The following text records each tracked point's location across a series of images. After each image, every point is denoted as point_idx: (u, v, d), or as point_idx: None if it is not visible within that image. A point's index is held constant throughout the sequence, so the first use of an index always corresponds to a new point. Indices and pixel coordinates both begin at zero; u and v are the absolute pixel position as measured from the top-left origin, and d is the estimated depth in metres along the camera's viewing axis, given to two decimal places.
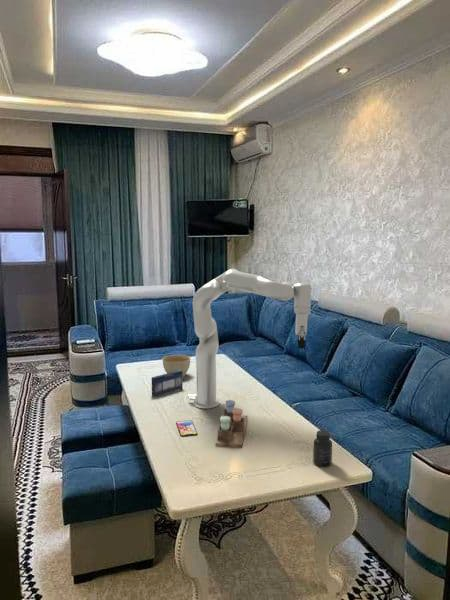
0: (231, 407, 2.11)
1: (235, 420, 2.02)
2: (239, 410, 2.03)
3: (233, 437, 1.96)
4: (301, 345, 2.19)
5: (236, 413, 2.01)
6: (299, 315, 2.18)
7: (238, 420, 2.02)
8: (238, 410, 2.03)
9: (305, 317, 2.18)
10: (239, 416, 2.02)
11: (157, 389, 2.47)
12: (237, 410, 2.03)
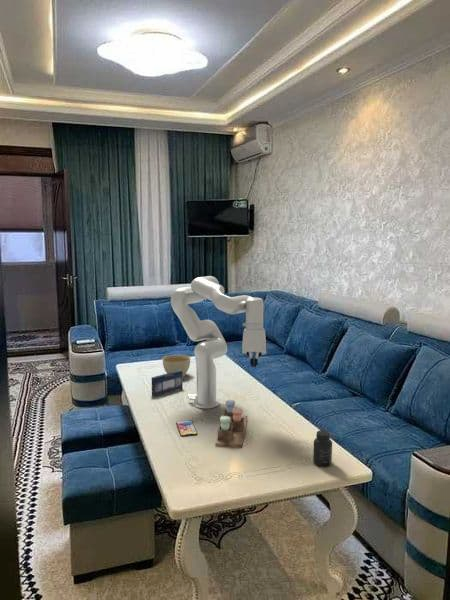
0: (231, 407, 2.11)
1: (235, 420, 2.02)
2: (239, 410, 2.03)
3: (233, 437, 1.96)
4: (257, 363, 2.12)
5: (236, 413, 2.01)
6: (264, 331, 2.08)
7: (238, 420, 2.02)
8: (238, 410, 2.03)
9: None
10: (239, 416, 2.02)
11: (157, 389, 2.47)
12: (237, 410, 2.03)
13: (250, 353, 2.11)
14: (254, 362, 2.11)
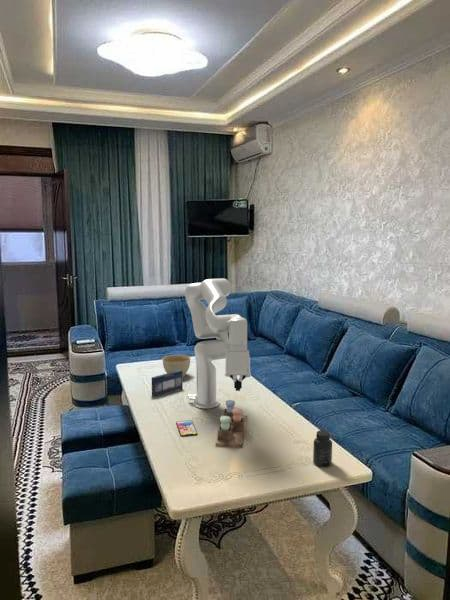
0: (231, 407, 2.11)
1: (235, 420, 2.02)
2: (239, 410, 2.03)
3: (233, 437, 1.96)
4: (241, 386, 2.01)
5: (236, 413, 2.01)
6: (248, 353, 1.97)
7: (238, 420, 2.02)
8: (238, 410, 2.03)
9: None
10: (239, 416, 2.02)
11: (157, 389, 2.47)
12: (237, 410, 2.03)
13: (234, 376, 1.99)
14: (238, 385, 2.00)
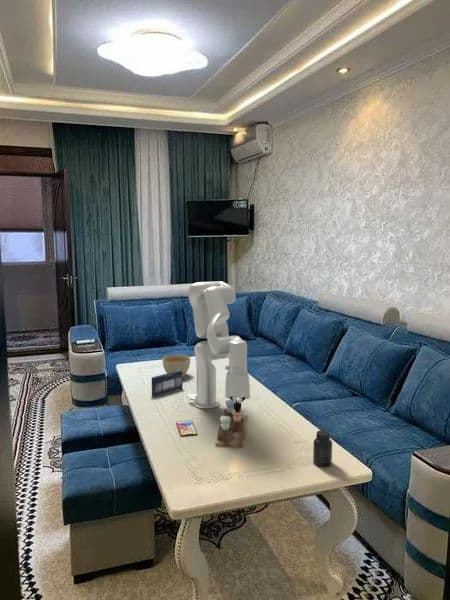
0: (231, 407, 2.11)
1: (235, 421, 2.03)
2: (239, 411, 2.03)
3: (233, 437, 1.96)
4: None
5: (236, 414, 2.01)
6: (248, 375, 1.99)
7: (238, 421, 2.02)
8: None
9: None
10: (239, 417, 2.02)
11: (157, 389, 2.47)
12: None
13: (233, 398, 2.01)
14: (237, 407, 2.01)
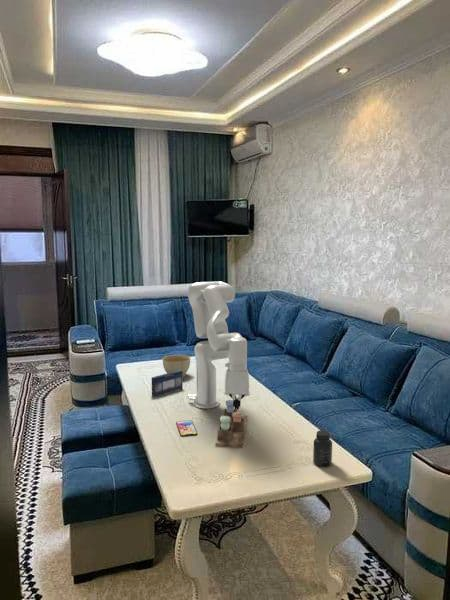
0: (231, 407, 2.11)
1: None
2: (239, 414, 2.03)
3: (233, 437, 1.96)
4: None
5: (236, 417, 2.02)
6: (247, 373, 1.99)
7: None
8: (238, 414, 2.03)
9: None
10: (239, 420, 2.03)
11: (157, 389, 2.47)
12: (237, 414, 2.03)
13: (233, 395, 2.01)
14: (237, 404, 2.02)
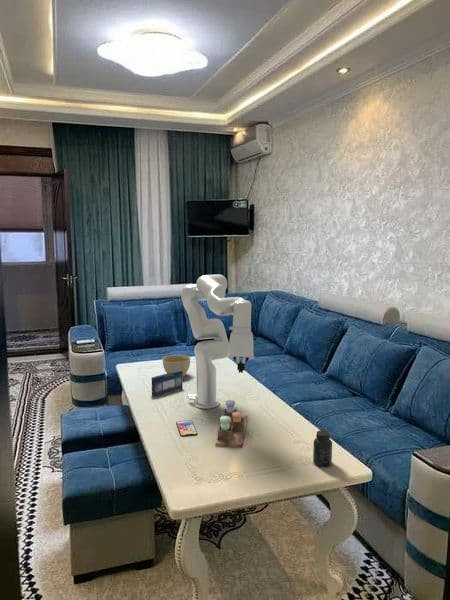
0: (231, 407, 2.11)
1: None
2: (239, 414, 2.03)
3: (233, 437, 1.96)
4: (244, 368, 2.04)
5: (236, 417, 2.02)
6: (251, 335, 1.99)
7: None
8: (238, 414, 2.03)
9: None
10: (239, 420, 2.03)
11: (157, 389, 2.47)
12: (237, 414, 2.03)
13: (237, 358, 2.02)
14: (241, 367, 2.02)
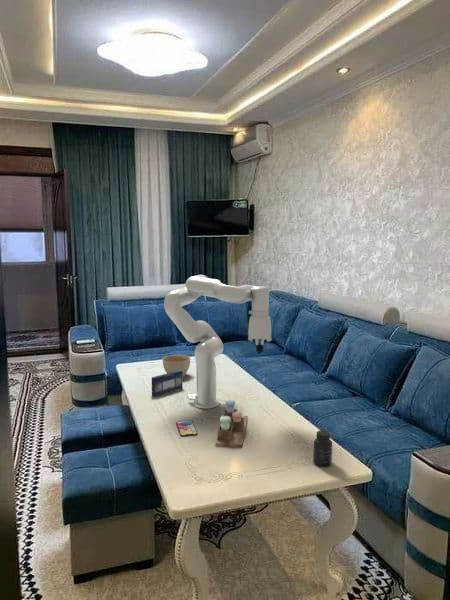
0: (231, 407, 2.11)
1: None
2: (239, 414, 2.03)
3: (233, 437, 1.96)
4: (262, 349, 2.19)
5: (236, 417, 2.02)
6: (269, 318, 2.15)
7: None
8: (238, 414, 2.03)
9: None
10: (239, 420, 2.03)
11: (157, 389, 2.47)
12: (237, 414, 2.03)
13: (256, 340, 2.18)
14: (259, 349, 2.18)
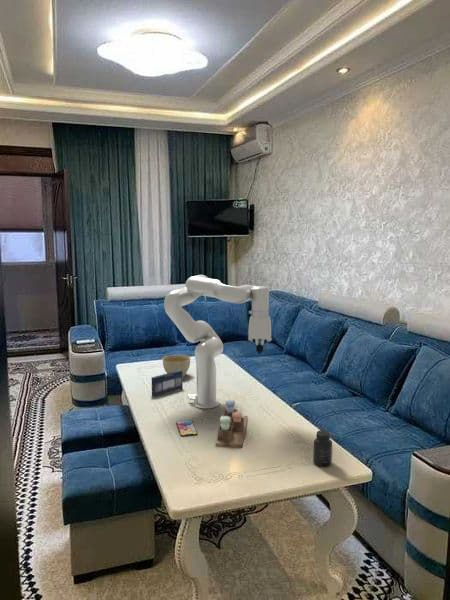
0: (231, 407, 2.11)
1: None
2: (239, 414, 2.03)
3: (233, 437, 1.96)
4: (262, 349, 2.19)
5: (236, 417, 2.02)
6: (269, 318, 2.15)
7: None
8: (238, 414, 2.03)
9: None
10: (239, 420, 2.03)
11: (157, 389, 2.47)
12: (237, 414, 2.03)
13: (256, 340, 2.18)
14: (260, 349, 2.18)
